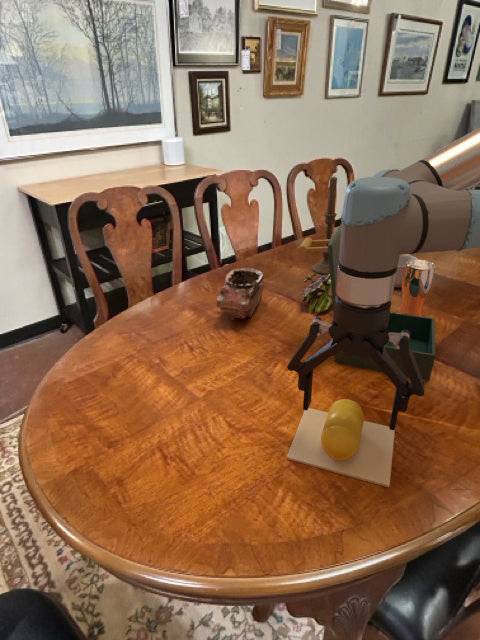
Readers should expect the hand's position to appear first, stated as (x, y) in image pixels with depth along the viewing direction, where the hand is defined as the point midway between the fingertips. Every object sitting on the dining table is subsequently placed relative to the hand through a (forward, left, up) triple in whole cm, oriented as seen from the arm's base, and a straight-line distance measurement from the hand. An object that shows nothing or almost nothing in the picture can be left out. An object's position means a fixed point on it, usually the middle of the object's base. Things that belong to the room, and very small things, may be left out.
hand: (348, 414), depth 68 cm
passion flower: (+14, -49, -7) cm, 51 cm away
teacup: (-5, -73, -7) cm, 73 cm away
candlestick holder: (+18, -76, -7) cm, 78 cm away
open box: (-4, -31, -6) cm, 32 cm away
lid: (+7, -31, +10) cm, 33 cm away
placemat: (0, 0, -6) cm, 7 cm away
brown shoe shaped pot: (+32, -39, -7) cm, 51 cm away
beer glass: (-9, -50, -7) cm, 51 cm away
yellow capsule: (0, 0, -6) cm, 6 cm away
